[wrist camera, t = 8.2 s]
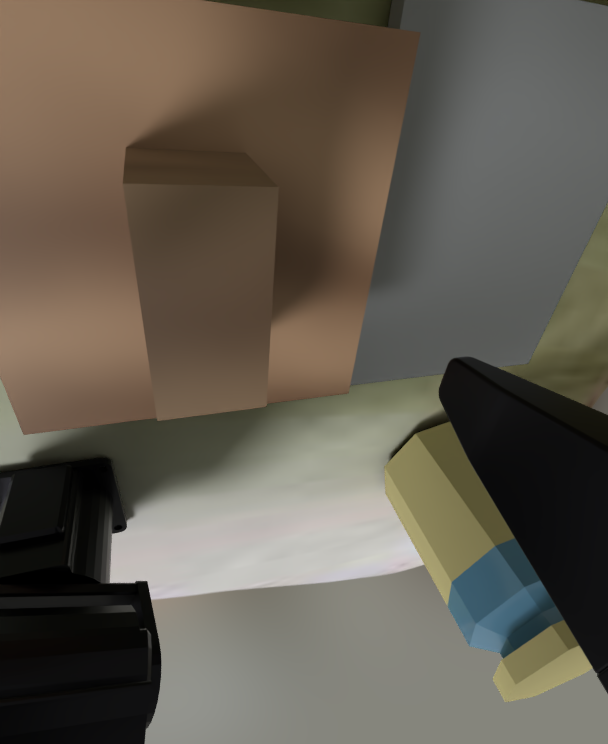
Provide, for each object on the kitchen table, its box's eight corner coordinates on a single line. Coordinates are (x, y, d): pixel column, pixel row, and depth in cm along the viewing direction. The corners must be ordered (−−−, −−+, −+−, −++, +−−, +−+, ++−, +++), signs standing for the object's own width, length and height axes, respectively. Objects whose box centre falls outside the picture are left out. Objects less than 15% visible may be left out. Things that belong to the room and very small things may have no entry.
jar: (362, 498, 35) (471, 720, 23) (401, 412, 30) (563, 642, 18) (452, 488, 38) (586, 678, 27) (501, 409, 33) (690, 601, 22)
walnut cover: (338, 376, 19) (384, 453, 15) (30, 411, 16) (-2, 522, 12) (398, 32, 12) (510, 30, 8) (-142, -46, 8) (-342, -106, 5)
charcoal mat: (518, 355, 30) (528, 363, 29) (330, 376, 26) (336, 387, 25) (673, 23, 19) (695, 23, 19) (396, -30, 15) (410, -33, 14)
